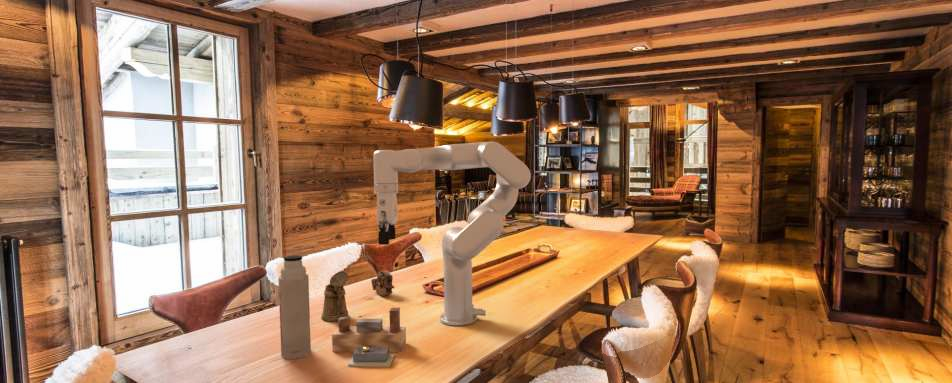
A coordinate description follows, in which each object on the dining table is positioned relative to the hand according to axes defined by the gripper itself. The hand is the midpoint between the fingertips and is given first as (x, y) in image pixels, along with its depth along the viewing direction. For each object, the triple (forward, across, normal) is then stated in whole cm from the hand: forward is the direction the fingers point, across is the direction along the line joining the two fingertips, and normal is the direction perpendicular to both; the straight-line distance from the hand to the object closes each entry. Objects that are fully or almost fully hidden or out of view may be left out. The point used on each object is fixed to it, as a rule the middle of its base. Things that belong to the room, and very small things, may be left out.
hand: (387, 241), depth 163 cm
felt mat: (+28, -27, -1) cm, 39 cm away
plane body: (+28, -17, +2) cm, 33 cm away
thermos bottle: (+28, -22, +22) cm, 42 cm away
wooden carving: (+29, +38, +11) cm, 49 cm away
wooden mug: (+28, +8, +20) cm, 36 cm away
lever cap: (+28, -27, -1) cm, 39 cm away
